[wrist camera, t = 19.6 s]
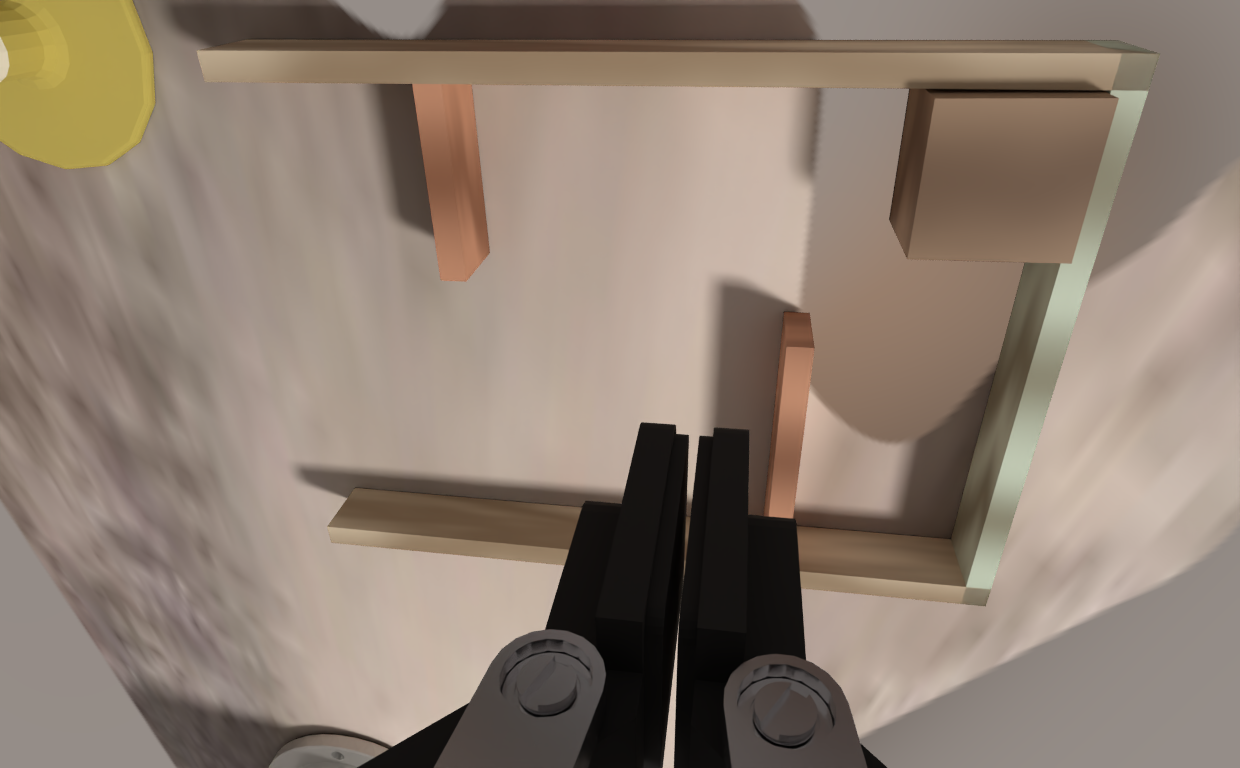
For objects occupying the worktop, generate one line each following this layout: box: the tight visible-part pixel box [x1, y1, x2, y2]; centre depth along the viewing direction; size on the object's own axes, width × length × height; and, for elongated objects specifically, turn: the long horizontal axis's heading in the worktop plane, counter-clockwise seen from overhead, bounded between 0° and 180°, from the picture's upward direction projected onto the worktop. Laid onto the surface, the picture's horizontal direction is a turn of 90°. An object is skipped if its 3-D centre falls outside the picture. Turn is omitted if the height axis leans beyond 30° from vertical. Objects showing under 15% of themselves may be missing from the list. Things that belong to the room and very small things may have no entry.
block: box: [889, 89, 1119, 264], centre depth 25 cm, size 5×5×4 cm
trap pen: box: [197, 39, 1160, 606], centre depth 31 cm, size 22×30×3 cm
